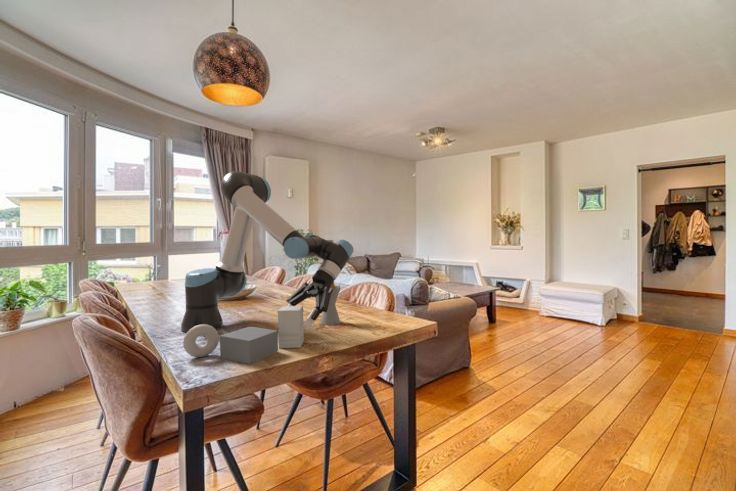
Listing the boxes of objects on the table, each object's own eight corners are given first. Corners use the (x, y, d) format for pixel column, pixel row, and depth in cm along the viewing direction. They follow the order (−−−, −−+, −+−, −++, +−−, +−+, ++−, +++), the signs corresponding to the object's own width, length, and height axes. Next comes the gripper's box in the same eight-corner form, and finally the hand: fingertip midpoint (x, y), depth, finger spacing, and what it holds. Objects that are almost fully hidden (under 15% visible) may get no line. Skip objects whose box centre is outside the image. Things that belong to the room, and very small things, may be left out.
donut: (184, 361, 104) (183, 328, 103) (182, 358, 106) (182, 325, 106) (220, 355, 109) (219, 323, 109) (218, 352, 112) (217, 320, 112)
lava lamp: (321, 319, 154) (321, 239, 153) (342, 319, 154) (341, 239, 153) (317, 325, 145) (316, 240, 144) (339, 325, 145) (338, 240, 144)
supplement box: (304, 341, 123) (304, 305, 123) (300, 348, 116) (299, 310, 115) (283, 341, 123) (282, 305, 123) (277, 348, 116) (277, 310, 115)
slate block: (220, 358, 107) (219, 335, 107) (250, 347, 118) (249, 326, 117) (249, 365, 101) (249, 340, 101) (278, 352, 112) (277, 330, 112)
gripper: (355, 284, 123) (323, 337, 112) (310, 279, 140) (278, 324, 129) (344, 270, 119) (310, 323, 108) (299, 266, 136) (265, 312, 125)
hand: (292, 324), depth 119 cm, fingers open, 13 cm apart
